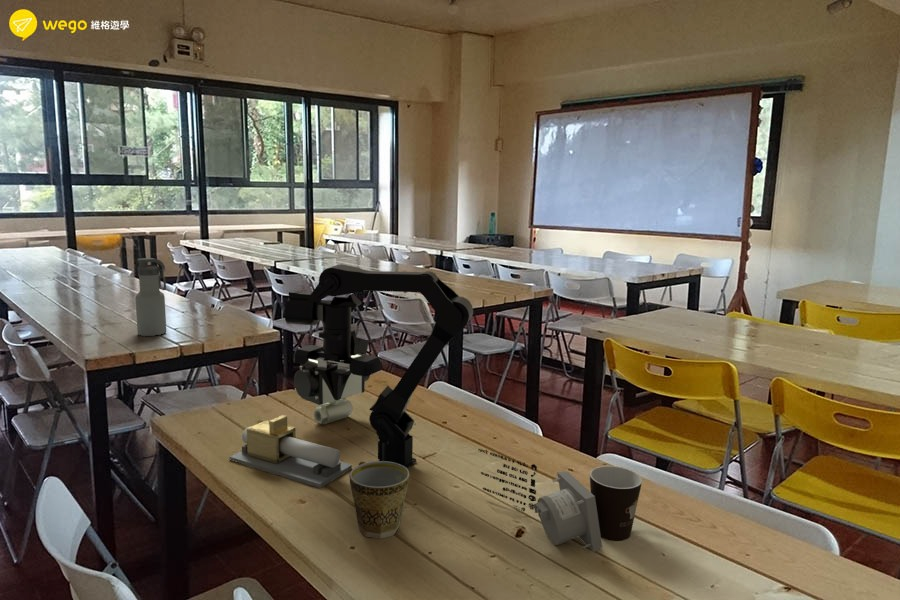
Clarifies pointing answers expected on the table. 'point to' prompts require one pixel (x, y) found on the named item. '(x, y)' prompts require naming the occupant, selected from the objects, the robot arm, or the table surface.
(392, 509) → the ceramic cup
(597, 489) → the brown paper cup
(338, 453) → the pipe run
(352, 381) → the ball valve
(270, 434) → the coupling
